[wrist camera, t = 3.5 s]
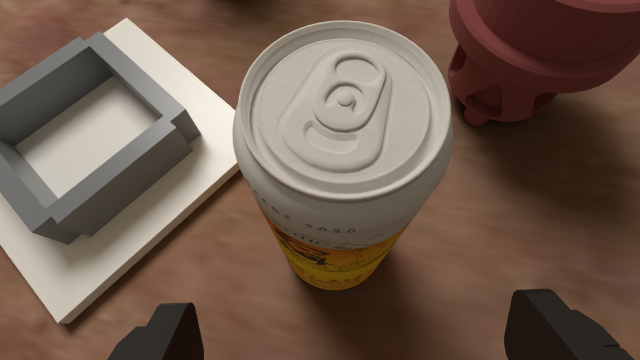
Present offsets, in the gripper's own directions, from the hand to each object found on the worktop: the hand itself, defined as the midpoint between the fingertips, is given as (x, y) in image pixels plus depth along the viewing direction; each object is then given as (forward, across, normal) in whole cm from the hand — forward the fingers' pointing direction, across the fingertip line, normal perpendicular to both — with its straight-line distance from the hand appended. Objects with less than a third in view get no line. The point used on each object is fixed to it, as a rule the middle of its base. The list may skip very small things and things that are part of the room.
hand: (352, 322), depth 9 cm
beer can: (+13, 0, +5) cm, 14 cm away
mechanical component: (+20, -12, -2) cm, 24 cm away
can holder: (+18, +16, 0) cm, 23 cm away
